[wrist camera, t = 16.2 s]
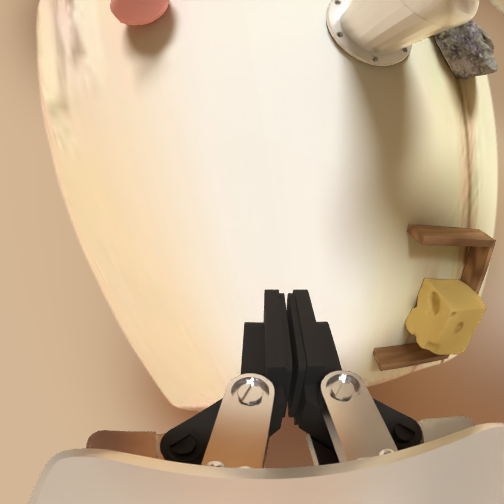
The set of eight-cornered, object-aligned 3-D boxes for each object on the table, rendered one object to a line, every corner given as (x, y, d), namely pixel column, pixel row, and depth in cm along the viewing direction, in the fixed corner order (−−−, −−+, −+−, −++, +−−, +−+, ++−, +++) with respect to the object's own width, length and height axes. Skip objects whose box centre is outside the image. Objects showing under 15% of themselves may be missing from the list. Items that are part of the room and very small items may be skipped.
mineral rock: (417, -1, 21) (450, -21, 12) (467, 23, 21) (502, 13, 12) (426, 66, 26) (467, 56, 17) (474, 86, 26) (515, 86, 17)
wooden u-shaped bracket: (408, 224, 37) (424, 236, 32) (479, 229, 37) (495, 240, 32) (372, 352, 48) (380, 370, 44) (438, 342, 48) (447, 358, 43)
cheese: (403, 323, 45) (424, 360, 36) (423, 273, 41) (453, 306, 32) (441, 322, 45) (463, 354, 36) (462, 276, 41) (490, 305, 32)
